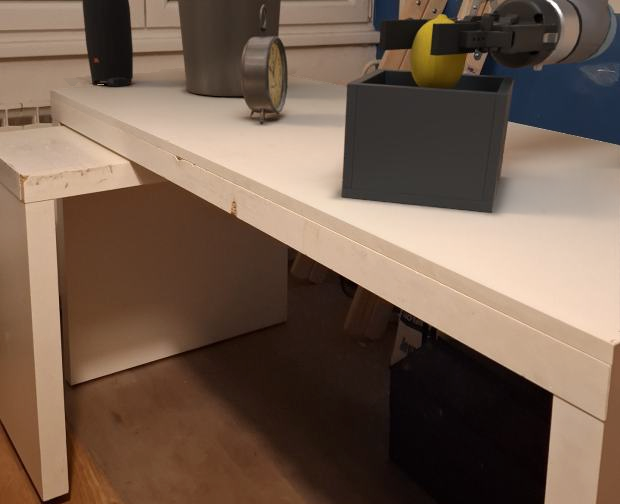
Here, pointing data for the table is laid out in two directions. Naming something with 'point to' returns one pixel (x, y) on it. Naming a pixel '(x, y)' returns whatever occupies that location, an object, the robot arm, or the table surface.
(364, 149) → the bin
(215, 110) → the table surface
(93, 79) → the portable speaker
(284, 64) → the alarm clock
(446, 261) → the table surface
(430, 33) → the lemon
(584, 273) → the table surface
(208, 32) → the waste basket
